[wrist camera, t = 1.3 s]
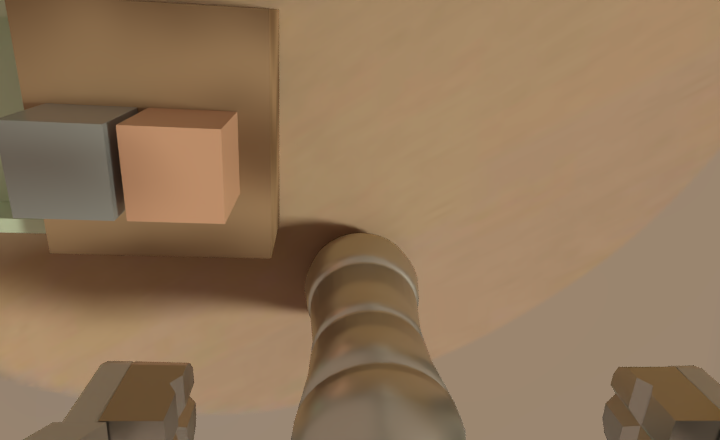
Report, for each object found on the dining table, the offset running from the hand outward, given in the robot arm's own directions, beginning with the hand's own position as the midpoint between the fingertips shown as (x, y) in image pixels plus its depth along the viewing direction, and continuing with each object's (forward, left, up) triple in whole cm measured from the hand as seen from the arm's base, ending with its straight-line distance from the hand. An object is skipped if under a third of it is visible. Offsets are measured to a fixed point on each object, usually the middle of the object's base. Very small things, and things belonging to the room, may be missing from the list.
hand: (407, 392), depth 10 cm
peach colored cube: (0, -8, -17) cm, 18 cm away
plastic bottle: (+8, +1, -22) cm, 23 cm away
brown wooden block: (-1, -10, -22) cm, 24 cm away
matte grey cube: (0, -12, -17) cm, 21 cm away
